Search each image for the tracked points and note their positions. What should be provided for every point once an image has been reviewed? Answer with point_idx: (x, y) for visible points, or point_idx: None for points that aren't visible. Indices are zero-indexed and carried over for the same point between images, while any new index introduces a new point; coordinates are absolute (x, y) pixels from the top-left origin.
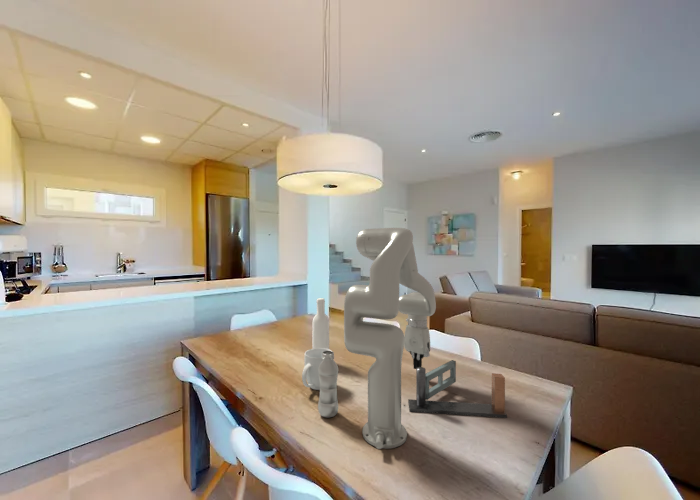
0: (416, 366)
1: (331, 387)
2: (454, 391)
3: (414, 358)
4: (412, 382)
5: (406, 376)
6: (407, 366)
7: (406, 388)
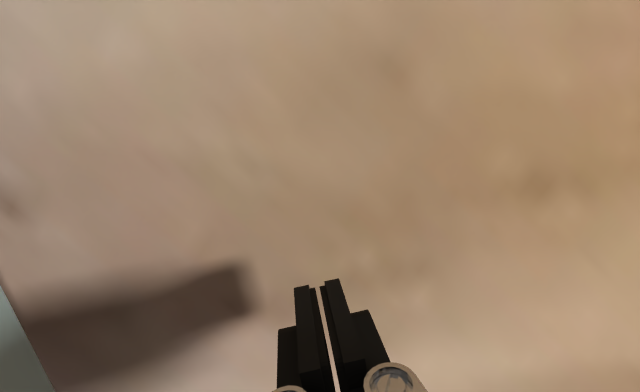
0: (300, 305)
1: None
2: None
3: (372, 382)
4: (297, 193)
5: (404, 225)
6: (518, 343)
7: (236, 66)
